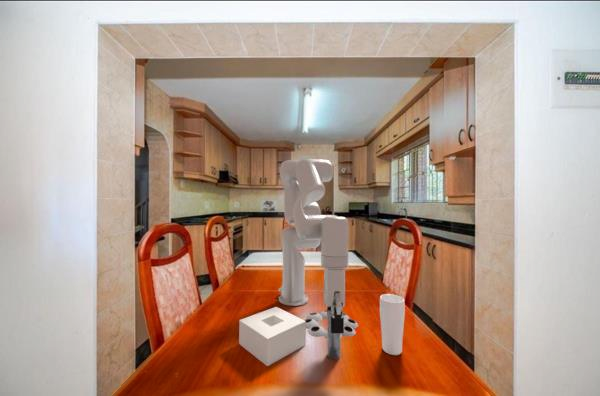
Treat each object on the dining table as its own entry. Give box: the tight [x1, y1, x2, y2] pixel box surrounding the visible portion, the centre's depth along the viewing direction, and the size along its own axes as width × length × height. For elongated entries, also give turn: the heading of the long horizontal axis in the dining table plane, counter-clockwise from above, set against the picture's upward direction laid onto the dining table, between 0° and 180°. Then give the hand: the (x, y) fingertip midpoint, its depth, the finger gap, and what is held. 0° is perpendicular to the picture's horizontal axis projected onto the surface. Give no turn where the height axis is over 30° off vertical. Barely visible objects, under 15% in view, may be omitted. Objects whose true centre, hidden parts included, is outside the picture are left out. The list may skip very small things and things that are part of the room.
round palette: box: [303, 309, 359, 339], centre depth 86 cm, size 20×20×2 cm
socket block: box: [238, 306, 307, 367], centre depth 74 cm, size 14×14×7 cm
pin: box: [326, 309, 342, 361], centre depth 69 cm, size 4×4×12 cm
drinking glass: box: [379, 293, 406, 356], centre depth 71 cm, size 7×7×15 cm
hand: (334, 323), depth 68 cm, fingers open, 9 cm apart
